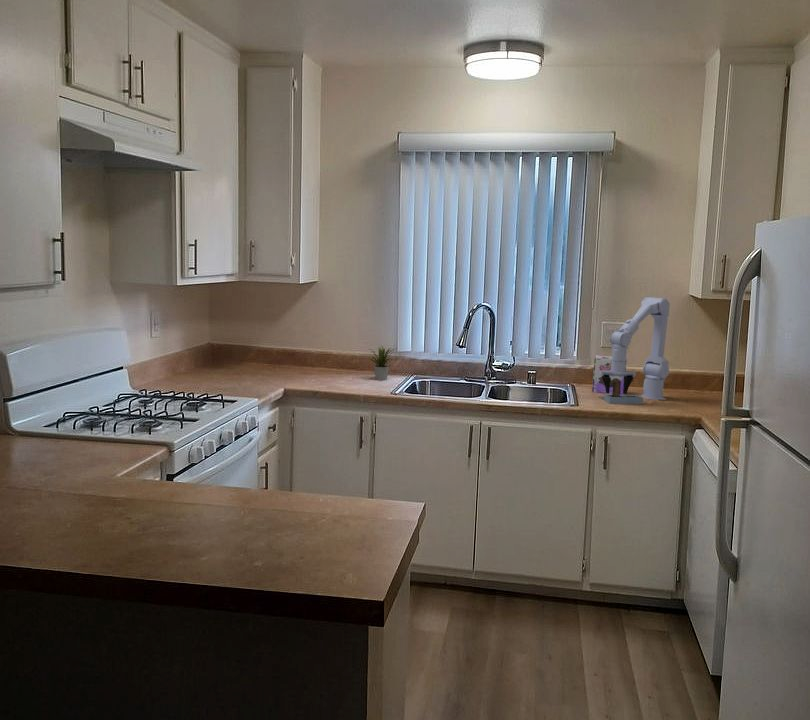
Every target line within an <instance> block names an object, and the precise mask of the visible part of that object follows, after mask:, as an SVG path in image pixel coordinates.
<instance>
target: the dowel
mask: <svg viewBox="0 0 810 720" xmlns="http://www.w3.org/2000/svg"><path fill="white" fill-rule="evenodd" d="M620 386H621V382H619V381H613V393H612V397H620Z"/></svg>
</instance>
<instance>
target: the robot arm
mask: <svg viewBox="0 0 810 720" xmlns="http://www.w3.org/2000/svg"><path fill="white" fill-rule="evenodd" d="M670 306H671V303H670V301H669V300H668V298H666V297H662V298H661V297H653V296H646V297H644V298H643V300H642V301H641V302H640V308H639V309H638V310H637V312H636V313H635V315H634V316H633V317H632V318H631V319H630V318H629V319H626V321H625V322H624V324H623V325H622V326H621V327H620V328H619V329H618V330H617V331H613V333H612V334H611V335H610V338H609V343H610V345H611V347H610V349H612V351H611V357H612V361H611V370H606V371H600V375H601V376H602V379H603V381H604V384H605V388H606V393H605V394H607V393H609V389H610V381H611V378H610V376H624V390H623V393H624V395H628V394H627V393H628V391H629V387H630V385H631V383H632V382H633V381H634V377H636V371H635V370H634V371H630V370H626V371H625V365H626V366H627V363H626V358H627V348H628V346H629V345H630V344H631V341H632V339H633V336H634V335H635V334H636V333H637V331H638V330H639V329H640V325H639V324H641V323H642V322H643V321H644V320H645V319H646V318H647V317H648V316H649V315H650V316H651V317H652V318H653V319H654V320H653V329H652V339H651V347H650V348H651V349H650V355H649V356H648V357H646V358H645V360H644V361H645V362H644V364H643V367H642V373H643V375H644V377H645V379H644V380H643V386H642V387H643V388H642V394H640V397H642V398H644V399H648V400H658V401H666V400H667V399H666V398H665V397H663V395H664V384H665V383H664V381H665V380H666V378H667V377H668V376H669V374H670V368H669V361H668V359H667V358H666V357H665V356H664V355H665V346H666V345H665V344H666V337H667V330H668V328H667V327H668V319H669V316H670V315H669V314H670ZM615 374H623V375H615Z"/></svg>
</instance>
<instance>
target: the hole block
mask: <svg viewBox="0 0 810 720" xmlns="http://www.w3.org/2000/svg"><path fill="white" fill-rule="evenodd" d="M603 397H604V400H603V401H604V402H606V403H608V404H610V405H611V404H612V405H643V403H644V397H643V396H641V395H637V394H624V395H620V397H612V394H607V393H604V396H603Z"/></svg>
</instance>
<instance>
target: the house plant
mask: <svg viewBox="0 0 810 720" xmlns="http://www.w3.org/2000/svg"><path fill="white" fill-rule="evenodd" d="M369 350H371V351H372V353H373V354H374V356H371V357H372V359H371V358H370V359H369V360H370V361H372V362H374V363H375V365H373V368H374V370H373V371H374V378H375V380H376V381H387V380H388V375H389V368H390V366H389V365H388V364H389V362H391V361H392V360H393V361H394V362H395V357H392V358H389V357H390V356H391V355H392V354H393V353H394V350H395V348H393V349H391V347H389V348H388V349H387V350H386V349H385V348H384V346H383V345H379V347H378V350H377V351H378V356H377V354H376V352H375V351H374V350H373V349H371V348H369Z"/></svg>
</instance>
